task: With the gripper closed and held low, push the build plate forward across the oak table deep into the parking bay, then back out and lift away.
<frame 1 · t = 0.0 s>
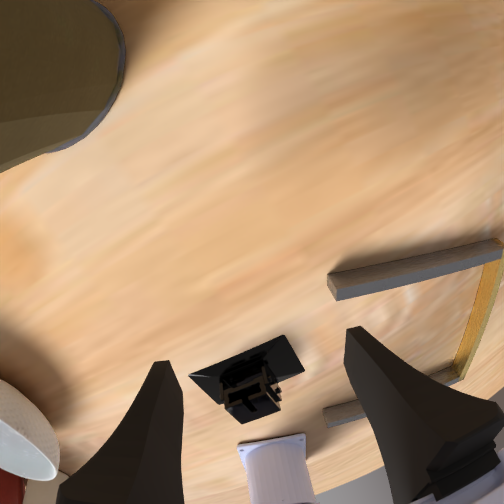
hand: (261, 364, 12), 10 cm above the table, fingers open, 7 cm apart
cereal bowl: (8, 397, 26), on the table
travel mug: (53, 473, 36), on the table
build plate: (246, 368, 27), on the table
canister: (50, 76, 15), on the table
parking bay: (403, 338, 28), on the table
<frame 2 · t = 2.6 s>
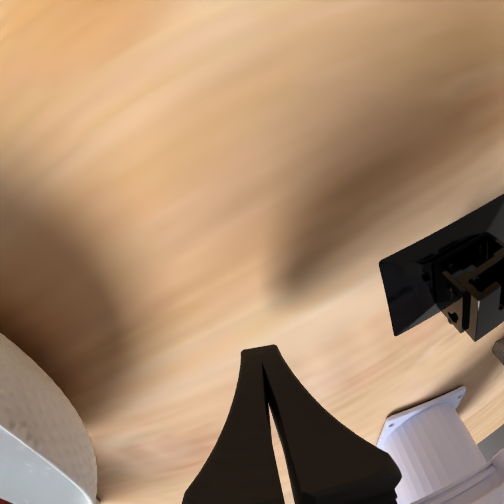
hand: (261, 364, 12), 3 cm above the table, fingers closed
build plate: (450, 258, 16), on the table
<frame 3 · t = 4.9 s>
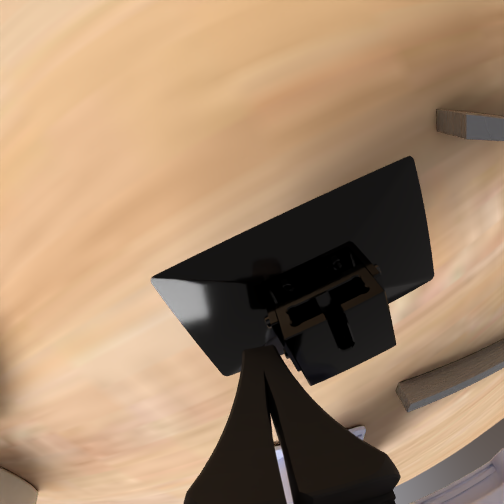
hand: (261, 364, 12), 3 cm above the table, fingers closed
travel mug: (11, 477, 24), on the table
build plate: (309, 274, 15), on the table, touching gripper
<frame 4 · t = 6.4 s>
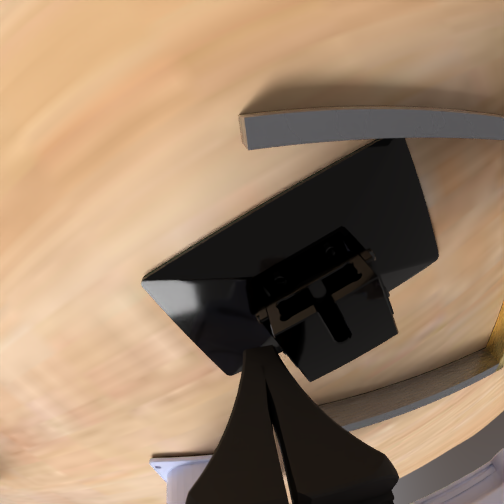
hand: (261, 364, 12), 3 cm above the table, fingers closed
build plate: (305, 265, 14), on the table, touching gripper
parking bay: (415, 287, 15), on the table
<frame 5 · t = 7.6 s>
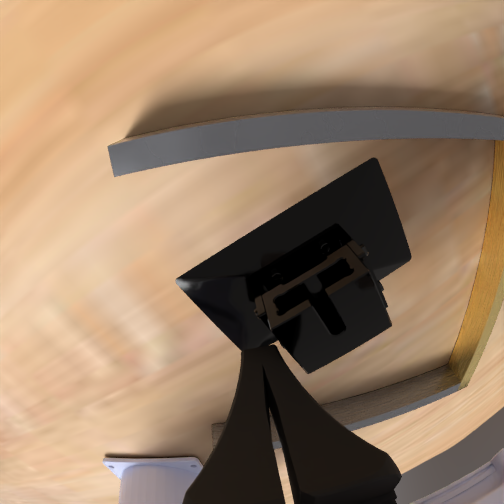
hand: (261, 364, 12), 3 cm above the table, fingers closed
build plate: (301, 261, 15), on the table, touching gripper
parking bay: (343, 305, 15), on the table
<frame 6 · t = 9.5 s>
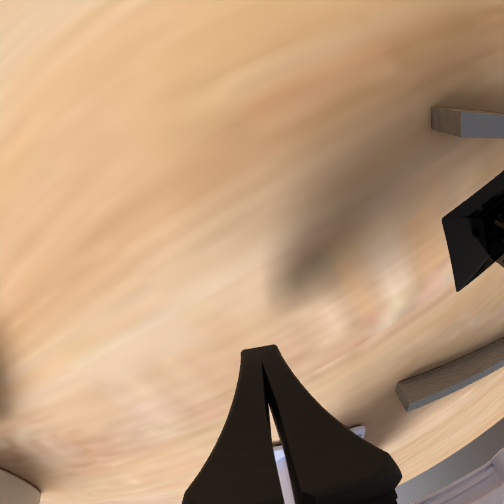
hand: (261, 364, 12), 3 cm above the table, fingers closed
travel mug: (14, 479, 24), on the table
build plate: (495, 211, 15), on the table
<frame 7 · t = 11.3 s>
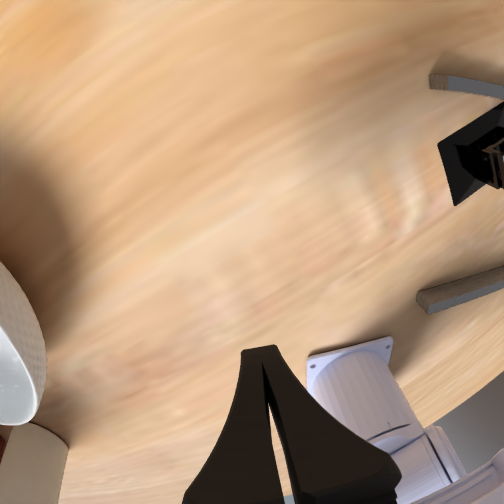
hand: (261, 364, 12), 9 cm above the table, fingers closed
travel mug: (41, 436, 29), on the table
build plate: (478, 148, 20), on the table
parking bay: (496, 191, 21), on the table
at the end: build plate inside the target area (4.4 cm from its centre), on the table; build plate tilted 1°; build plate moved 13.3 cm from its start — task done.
